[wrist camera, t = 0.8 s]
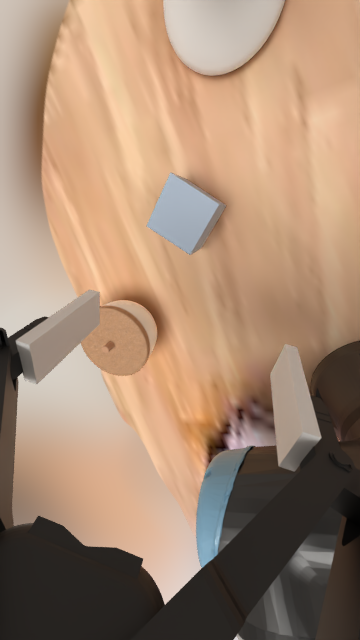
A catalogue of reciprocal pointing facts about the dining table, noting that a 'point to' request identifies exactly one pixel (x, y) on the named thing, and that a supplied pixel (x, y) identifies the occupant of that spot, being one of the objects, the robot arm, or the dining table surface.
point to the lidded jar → (121, 338)
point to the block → (185, 214)
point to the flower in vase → (219, 31)
